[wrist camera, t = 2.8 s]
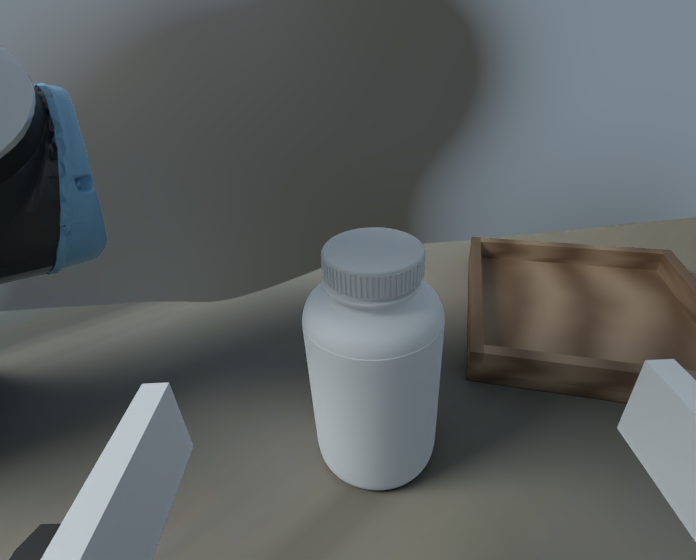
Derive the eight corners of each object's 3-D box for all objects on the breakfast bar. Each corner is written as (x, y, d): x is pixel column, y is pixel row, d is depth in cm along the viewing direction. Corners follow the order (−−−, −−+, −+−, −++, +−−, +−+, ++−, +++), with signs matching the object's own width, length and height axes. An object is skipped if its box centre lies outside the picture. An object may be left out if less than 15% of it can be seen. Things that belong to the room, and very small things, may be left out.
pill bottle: (416, 389, 32) (426, 210, 24) (450, 485, 26) (478, 280, 18) (315, 402, 32) (292, 223, 24) (322, 504, 25) (293, 301, 17)
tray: (466, 379, 33) (470, 351, 31) (468, 259, 49) (471, 237, 48) (768, 423, 28) (791, 392, 27) (660, 274, 45) (670, 250, 43)
